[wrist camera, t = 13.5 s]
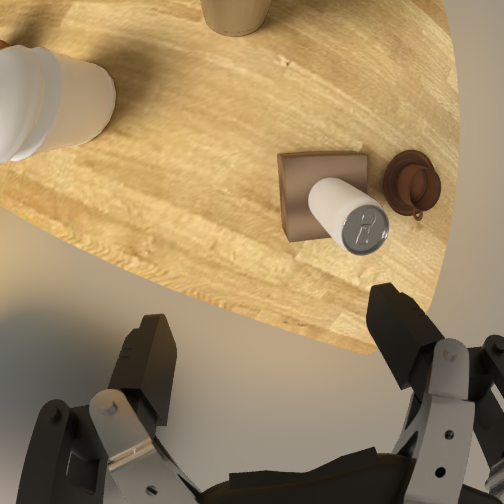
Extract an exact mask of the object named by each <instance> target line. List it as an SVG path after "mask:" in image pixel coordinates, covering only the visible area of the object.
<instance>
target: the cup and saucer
mask: <svg viewBox="0 0 504 504" xmlns="http://www.w3.org/2000/svg"><path fill="white" fill-rule="evenodd" d="M384 193H385V197H386V200H387V202H388V204H389V205H390V207H391V208H392V209H393V210H394V211H395V212H397V213H398V214H400V215H404V216H412V215H413V216H414V218H415V220H417V221H420V220H421V219H422V216H423V211H427V210H429V209H431V208H432V207H433V206H434V205H435V204H436V203H437V201H438V199H439V197H440V193H441V182H440V178H439V176H438V174H437V173H436V172H435V171H434V167H433V165H432V163H431V161H430V160H429V159H428V157H427V156H426V155H424V154H423V153H421V152H419V151H416V150H408V151H404V152H401V153H400V154H398V155H397V156H395V157H394V158H393V160H392V161H391V162H390V164H389V165H388V167H387V170H386V173H385V177H384ZM419 212H420V215H419V217H417V216H416V214H418V213H419Z"/></svg>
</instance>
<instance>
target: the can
mask: <svg viewBox="0 0 504 504" xmlns="http://www.w3.org/2000/svg"><path fill="white" fill-rule="evenodd" d="M308 204H309V208H310V210H311V212H312V214H313V215H314V216H315V218H316V219H317V220H318V221H319V222H320V224H321V225H322V226H323V227H324V228H325V230H326V231H327V232H328V233H329V235H330V236H331V237H332V238H333V239H334V241H335V242H336V243H337V244H338V245H339V246H340V247H341V248H342V249H344V250H346V251H349V252H351V253H352V254H355V255H360V256H362V255H368V254H371V253H373V252H375V251H376V250H377V249H379V248H380V247H381V246H382V244H383V243H384V241H385V240H386V238H387V235H388V231H389V221H388V217H387V215H386V213H385V212H384V211H383V209H382V207H381V205H380V204H379V203H378V202H377V201H376V200H374V199H373V198H371V197H370V196H368V195H367V194H365V193H363V192H362V191H360V190H358V189H357V188H355V187H353V186H352V185H350V184H348V183H346V182H345V181H343V180H341V179H339V178H334V177H329V178H324V179H322V180H320V181H318V182H317V183H316V184H315V185H314V186H313V188H312V189H311V191H310V194H309V198H308Z"/></svg>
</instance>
